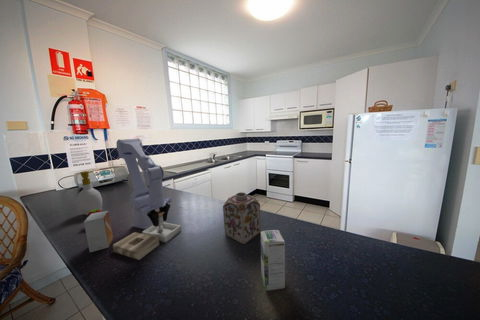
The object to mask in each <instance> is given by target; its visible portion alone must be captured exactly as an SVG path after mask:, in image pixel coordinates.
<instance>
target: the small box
mask: <svg viewBox="0 0 480 320" xmlns="http://www.w3.org/2000/svg"><path fill="white" fill-rule="evenodd" d="M111 224H112V223H111V217H110V212H109V210H104V211H103V212H98V213H93V214H91V215H90V216H89V217H88V216H87V217H86V219H85V220H84V221H83V226H84V231H85V235H86V239H87V245H88V246H87V247H88V249H89V253H94V252H97V251H100V250H104V249H107V248H110V245H111V243H112V241H113V238H114V235H113V229H112V225H111Z"/></svg>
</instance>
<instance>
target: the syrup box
mask: <svg viewBox="0 0 480 320" xmlns="http://www.w3.org/2000/svg"><path fill="white" fill-rule="evenodd" d="M283 237H284V236H283V235H282V234H281V232H280V230H278V229H269V230H261V232H260V267H261V269H260V271H261V272H260V273H261V278H262V282H263V287H264V290H265V292H266V291H267V292H268V291H275V290H281V289H285V288H286V242H285V239H284V238H283Z"/></svg>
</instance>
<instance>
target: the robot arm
mask: <svg viewBox="0 0 480 320" xmlns="http://www.w3.org/2000/svg"><path fill="white" fill-rule="evenodd" d="M116 149H117V153H118V156H119V158H120V159H123V160H124V162H125V164H126V168H127V171H128V175H129V178H130V180H131V181H130V182H131V183H132V187H133V191H132V193H130V195H129V203H130V207H131V209H132V212H131V215H132V216H131V217H132V225H131V227H133V228H137V229H142V230H146V229H148V228H149V227H151V226H152V225H153V226H156V227H157V226H158V214H159V212H156V211H157V209H158V211H159V210H164V214H163V222H166V221H167V220H168V213H169V211H170V208H171V204H169V203H172V202H173V200H172V199H173V198H172V197H166V198H165V194H164V188H163V180H162V179H163V178H164V175H165V173H164V169H163V167H162V166H161V165H158V164H156V163H155V162H154V160H153V159H152V158H151V157H150V156H149V155H146V153H145V152H144V149H143V142H142V140H141V139H140V138H127V139H126V138H125V139H117V141H116ZM140 170H141V171H142V173H143V174H142V173H141V171H140ZM142 175H143V176H142ZM143 178H144V180H143ZM144 181H145V182H144ZM145 185H146V186H147V187H146V186H145Z"/></svg>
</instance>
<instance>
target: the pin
mask: <svg viewBox="0 0 480 320" xmlns="http://www.w3.org/2000/svg"><path fill="white" fill-rule="evenodd" d="M155 211H156V212H159V214H158V226H157V227H156V230H157V233H162V232H164V223H163V222H164V221H163V214H164V210H159V209H158V210H155Z"/></svg>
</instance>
